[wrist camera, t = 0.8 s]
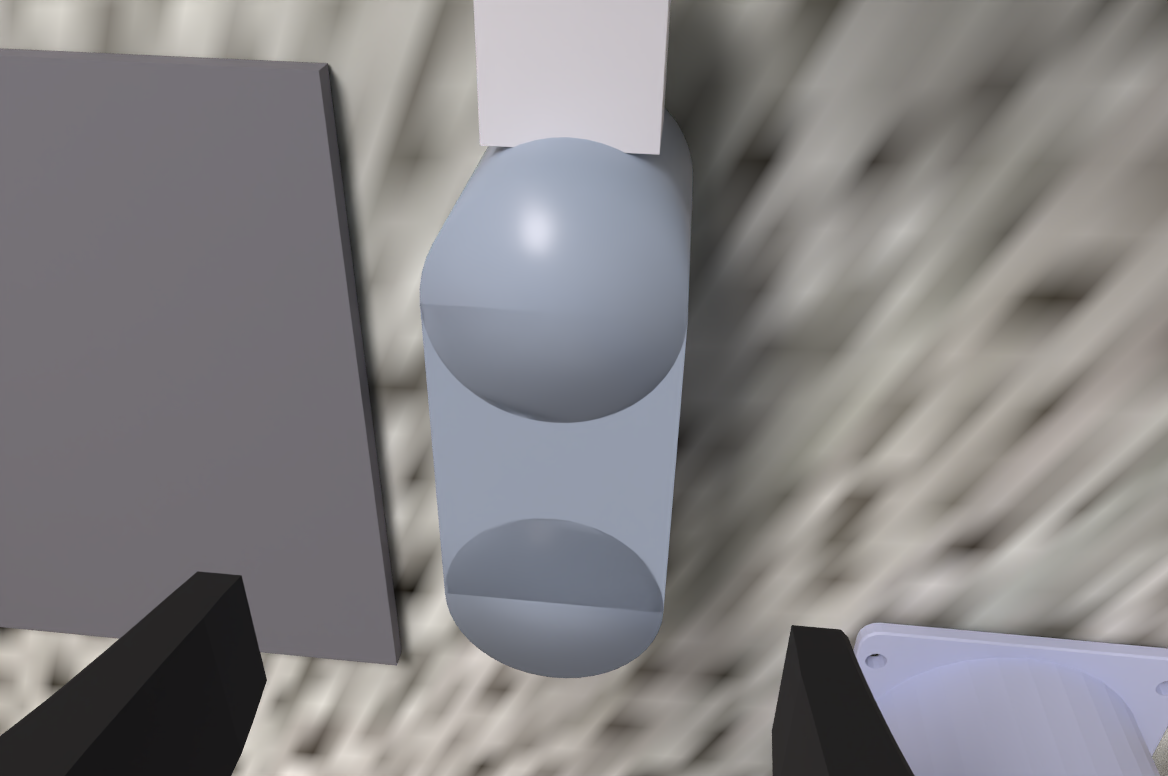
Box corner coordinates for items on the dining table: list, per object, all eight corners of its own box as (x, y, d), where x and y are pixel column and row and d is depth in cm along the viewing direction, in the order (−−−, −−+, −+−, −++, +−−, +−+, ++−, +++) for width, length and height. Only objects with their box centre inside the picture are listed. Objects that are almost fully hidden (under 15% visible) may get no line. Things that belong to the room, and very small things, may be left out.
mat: (401, 651, 27) (396, 665, 27) (-7, 612, 28) (-17, 624, 28) (327, 63, 18) (318, 70, 18) (-262, 36, 19) (-283, 42, 19)
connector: (667, 503, 23) (657, 687, 19) (501, 490, 24) (451, 667, 19) (714, -91, 16) (717, -31, 12) (478, -98, 17) (390, -42, 12)
